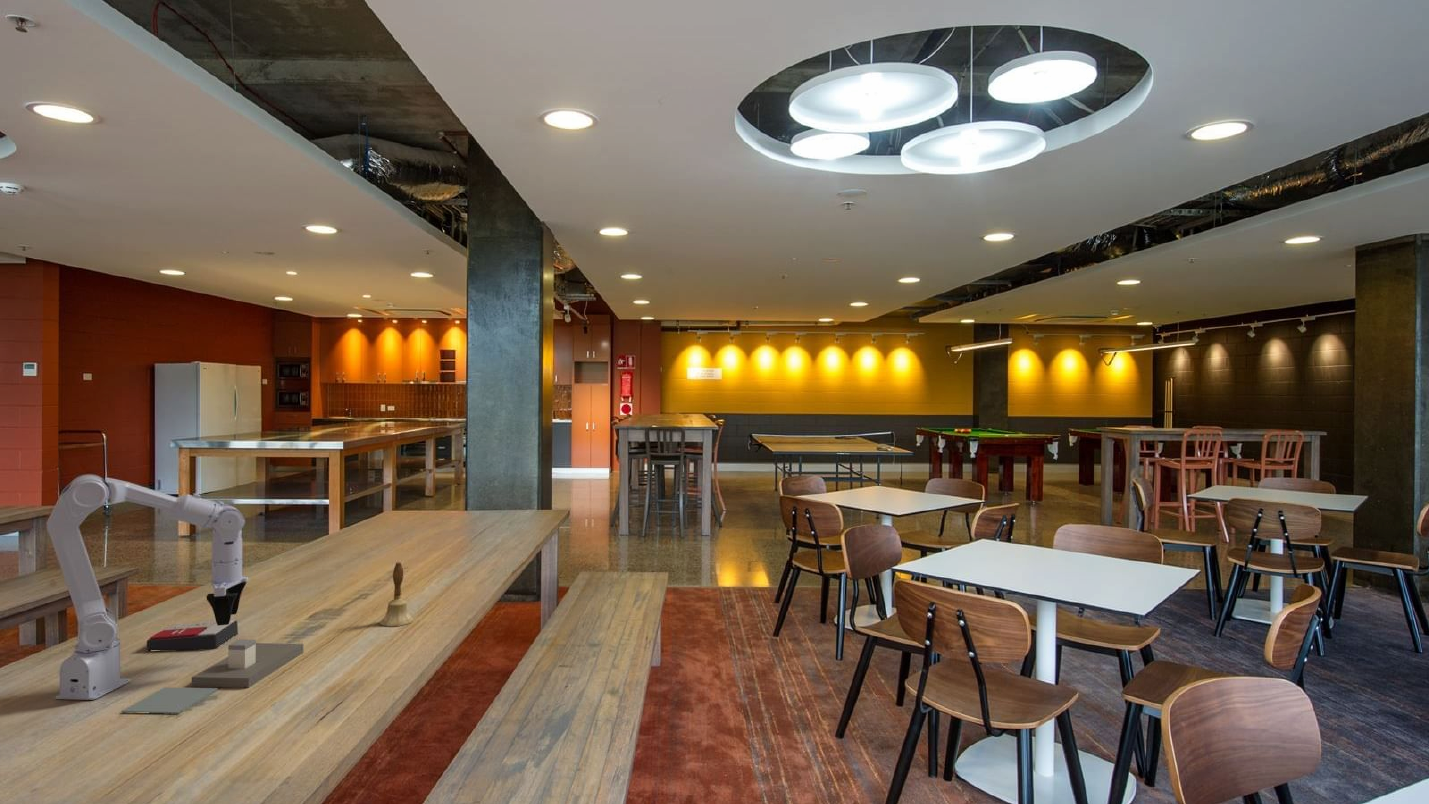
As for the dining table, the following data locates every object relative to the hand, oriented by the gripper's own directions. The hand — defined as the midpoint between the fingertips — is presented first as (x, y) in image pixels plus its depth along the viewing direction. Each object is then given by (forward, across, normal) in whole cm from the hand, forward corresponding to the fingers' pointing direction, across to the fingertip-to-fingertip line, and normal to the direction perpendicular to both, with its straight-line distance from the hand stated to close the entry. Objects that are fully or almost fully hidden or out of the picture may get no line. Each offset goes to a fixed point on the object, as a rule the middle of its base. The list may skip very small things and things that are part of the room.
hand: (227, 619), depth 164 cm
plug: (+10, -8, -4) cm, 14 cm away
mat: (+10, -19, +6) cm, 22 cm away
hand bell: (+10, +18, -35) cm, 41 cm away
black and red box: (+11, +18, +10) cm, 23 cm away
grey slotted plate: (+10, -5, -6) cm, 13 cm away
